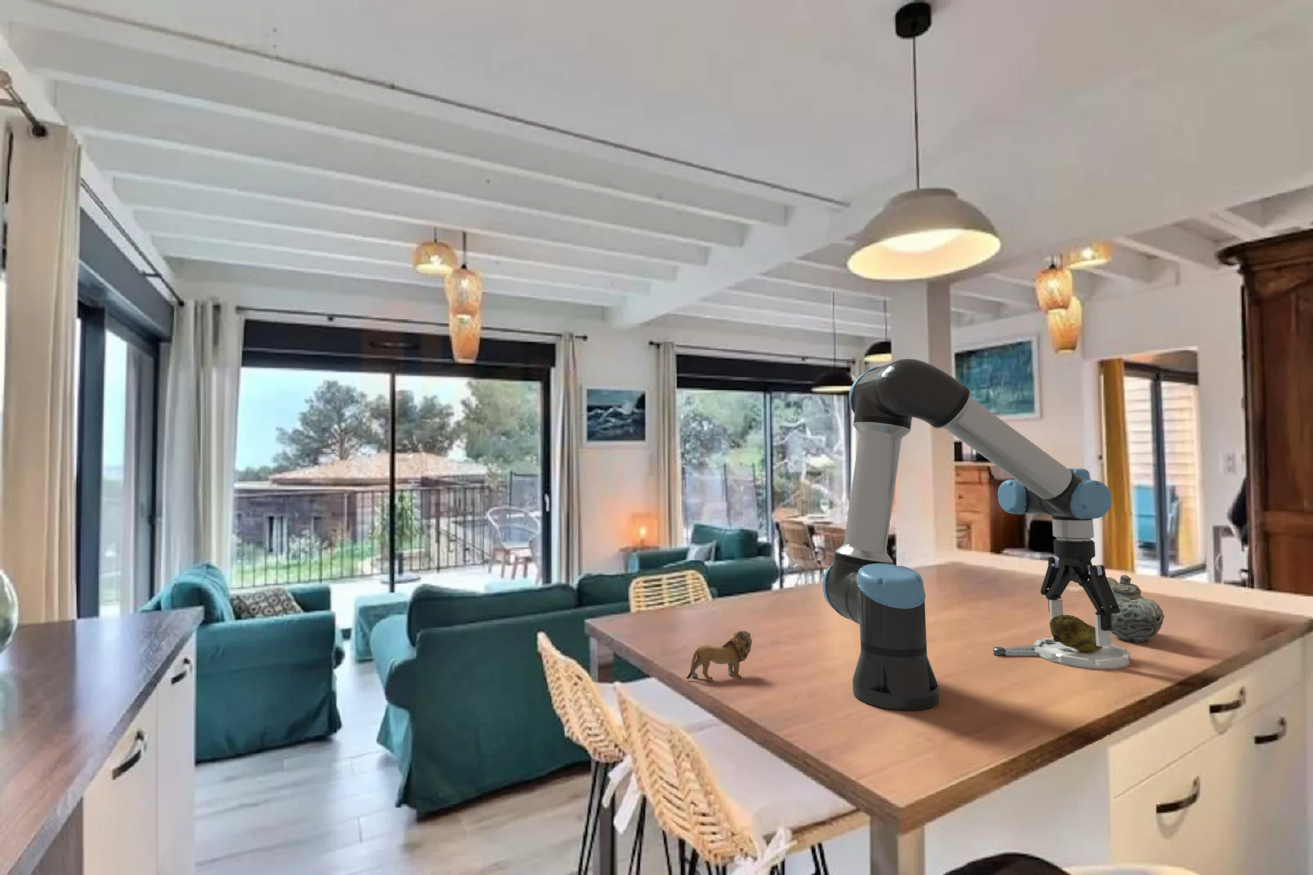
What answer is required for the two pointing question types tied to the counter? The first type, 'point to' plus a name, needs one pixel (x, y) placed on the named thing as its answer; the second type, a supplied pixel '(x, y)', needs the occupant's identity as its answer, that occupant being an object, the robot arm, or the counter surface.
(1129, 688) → the counter surface
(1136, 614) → the teapot
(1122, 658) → the plate
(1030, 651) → the open tongs prop
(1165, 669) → the counter surface
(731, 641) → the lion figurine
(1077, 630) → the potato
